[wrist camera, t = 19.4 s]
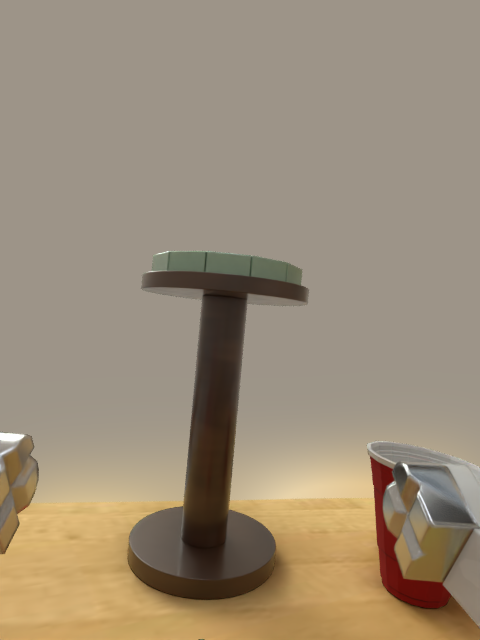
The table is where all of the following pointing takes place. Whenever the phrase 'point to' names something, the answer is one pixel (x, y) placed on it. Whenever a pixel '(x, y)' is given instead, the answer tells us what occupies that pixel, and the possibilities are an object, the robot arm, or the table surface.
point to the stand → (210, 451)
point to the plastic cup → (392, 579)
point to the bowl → (227, 265)
